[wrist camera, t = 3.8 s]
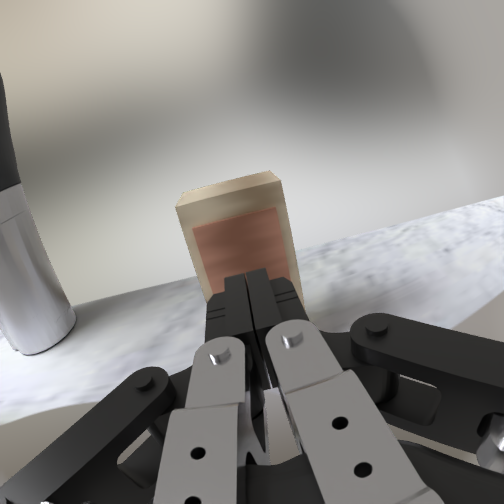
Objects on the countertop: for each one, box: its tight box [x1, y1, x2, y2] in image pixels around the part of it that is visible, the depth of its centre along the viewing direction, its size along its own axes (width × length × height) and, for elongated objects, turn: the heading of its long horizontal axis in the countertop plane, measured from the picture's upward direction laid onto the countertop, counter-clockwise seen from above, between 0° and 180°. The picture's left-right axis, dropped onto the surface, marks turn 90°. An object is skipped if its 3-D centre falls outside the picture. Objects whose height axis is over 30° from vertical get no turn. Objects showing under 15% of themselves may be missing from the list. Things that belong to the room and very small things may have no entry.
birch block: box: [175, 171, 306, 312], centre depth 21 cm, size 6×4×12 cm
